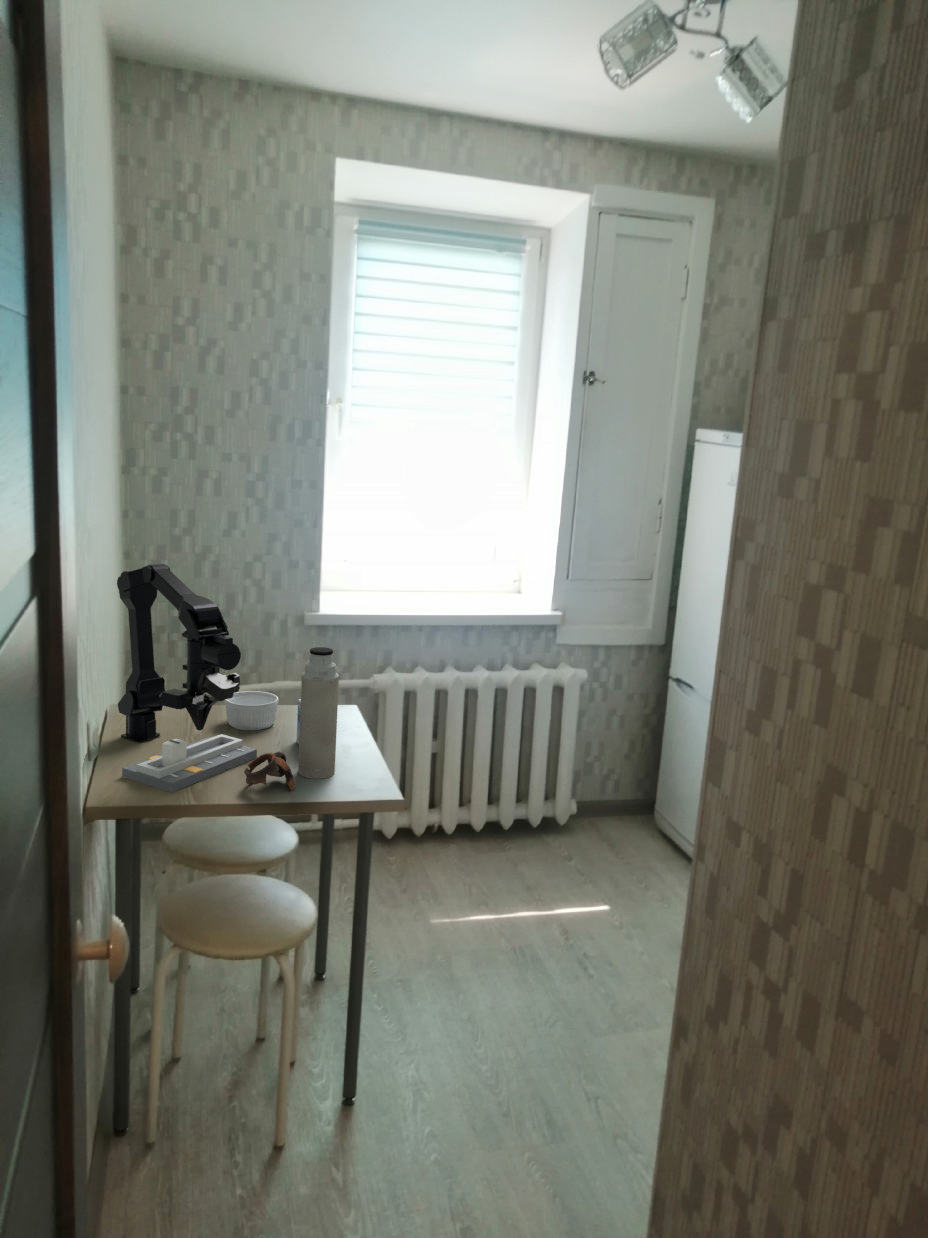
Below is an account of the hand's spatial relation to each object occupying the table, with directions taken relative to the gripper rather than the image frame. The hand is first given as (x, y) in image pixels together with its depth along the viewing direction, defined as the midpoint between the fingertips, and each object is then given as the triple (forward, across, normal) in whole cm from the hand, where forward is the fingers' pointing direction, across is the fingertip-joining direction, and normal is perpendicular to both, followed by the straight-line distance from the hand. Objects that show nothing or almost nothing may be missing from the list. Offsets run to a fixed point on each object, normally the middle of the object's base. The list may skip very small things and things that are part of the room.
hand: (199, 729), depth 200 cm
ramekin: (+8, +29, +10) cm, 32 cm away
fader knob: (+6, -7, 0) cm, 9 cm away
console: (+8, -2, 0) cm, 8 cm away
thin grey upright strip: (+8, +25, -13) cm, 29 cm away
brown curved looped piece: (+8, 0, -20) cm, 22 cm away
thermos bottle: (+8, +12, -23) cm, 27 cm away
